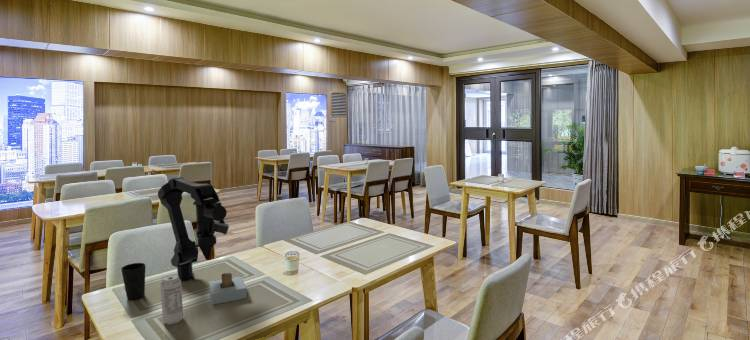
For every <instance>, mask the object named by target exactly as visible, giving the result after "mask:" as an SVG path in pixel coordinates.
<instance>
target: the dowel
mask: <svg viewBox="0 0 750 340" xmlns="http://www.w3.org/2000/svg"><path fill="white" fill-rule="evenodd" d="M232 278H233V274H232V273H230V272H225V273H222V274H221V280H222V288H227V287H232Z"/></svg>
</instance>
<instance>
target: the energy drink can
mask: <svg viewBox="0 0 750 340" xmlns="http://www.w3.org/2000/svg"><path fill="white" fill-rule="evenodd" d="M159 287H160V297H161V298H160V300H161V310H162V321H163V323H164V324H165V325H168V326H169V325H176V324H178V323H180V322H181V321H182V319H183V317H184V306H183V305H184V304H183V291H182V290H183V289H182V281H181V280H180V279H179V276H178V274H169V275H165V276H163V277H162V278H161V282H160V285H159Z"/></svg>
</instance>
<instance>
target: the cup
mask: <svg viewBox="0 0 750 340" xmlns="http://www.w3.org/2000/svg"><path fill="white" fill-rule="evenodd" d="M120 269H121V273H122V274H121V275H122V280H123V286H124V289H125V293H126V299H127V301H130V302H132V301H138V300H141V299H143V298H145V295H146V294H145V293H146V263H144V262H143V263H142V262H134V263H129V264H126V265H124V266H122V267H121V268H120Z"/></svg>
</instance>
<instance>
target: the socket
mask: <svg viewBox="0 0 750 340" xmlns="http://www.w3.org/2000/svg"><path fill="white" fill-rule="evenodd" d="M208 289H209V295H210V296H209V297H210V301H211V305H212V306H213V305H214V306H215V305H218V304H224V303H228V302H234V301H238V300H244V299H247V297H248V296H247V295H248V294H247V287H246V284H245V281H244V279H243V277H242V276H236V277H232V287H227V288H222V279H219V280H218V279H217V280H213V281H208Z"/></svg>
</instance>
